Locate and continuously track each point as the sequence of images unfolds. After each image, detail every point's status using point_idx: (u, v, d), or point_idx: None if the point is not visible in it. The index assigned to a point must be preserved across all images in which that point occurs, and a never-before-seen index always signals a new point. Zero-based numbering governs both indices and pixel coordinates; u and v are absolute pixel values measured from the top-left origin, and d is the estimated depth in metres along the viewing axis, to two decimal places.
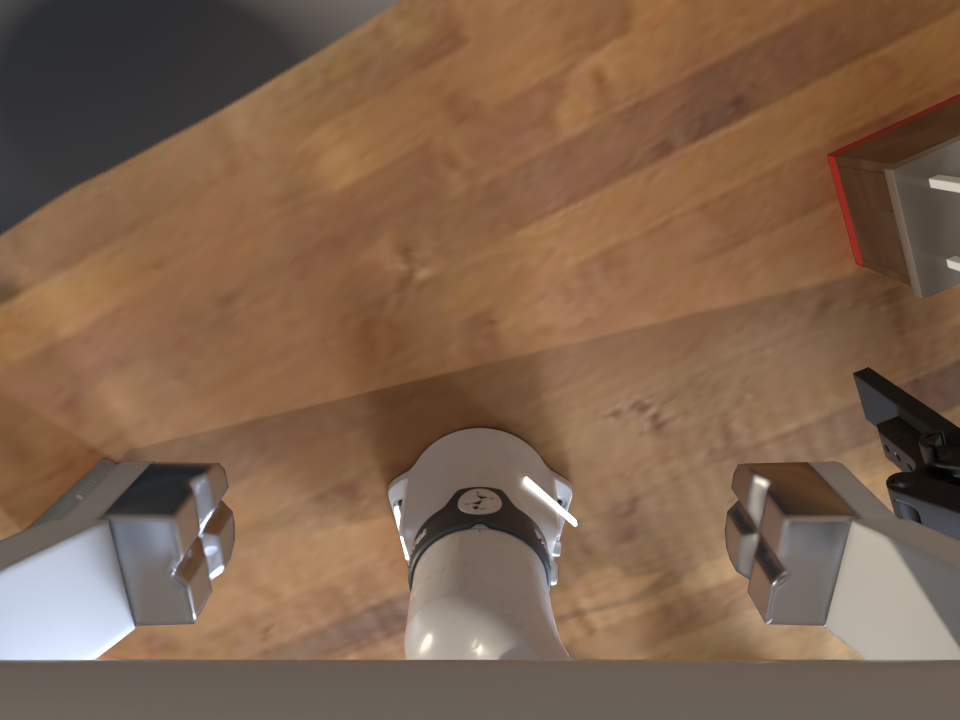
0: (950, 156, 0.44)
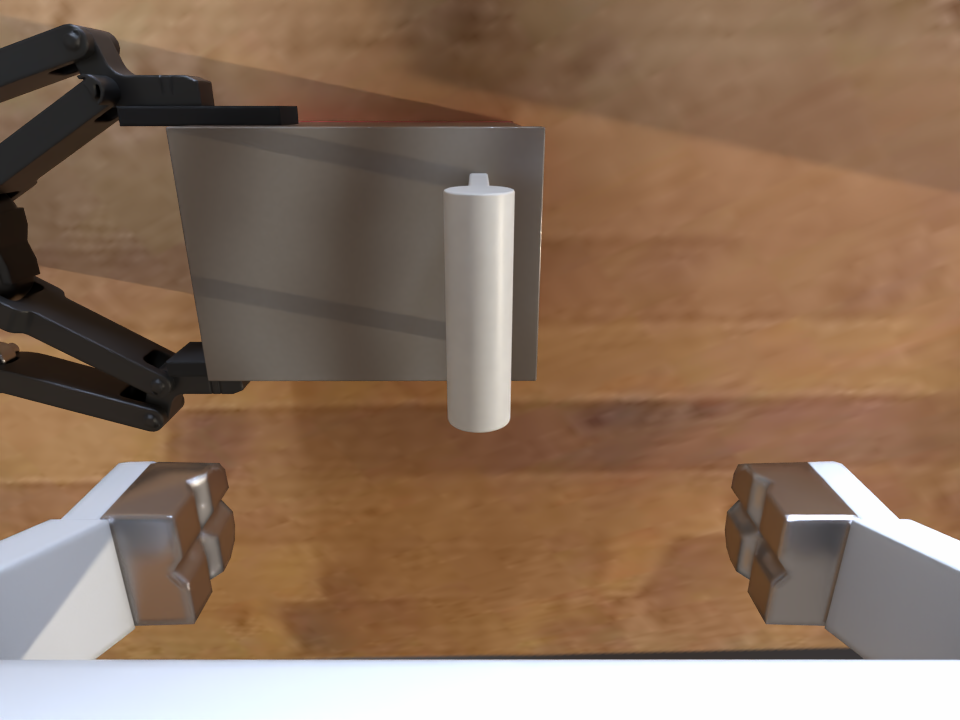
0: None
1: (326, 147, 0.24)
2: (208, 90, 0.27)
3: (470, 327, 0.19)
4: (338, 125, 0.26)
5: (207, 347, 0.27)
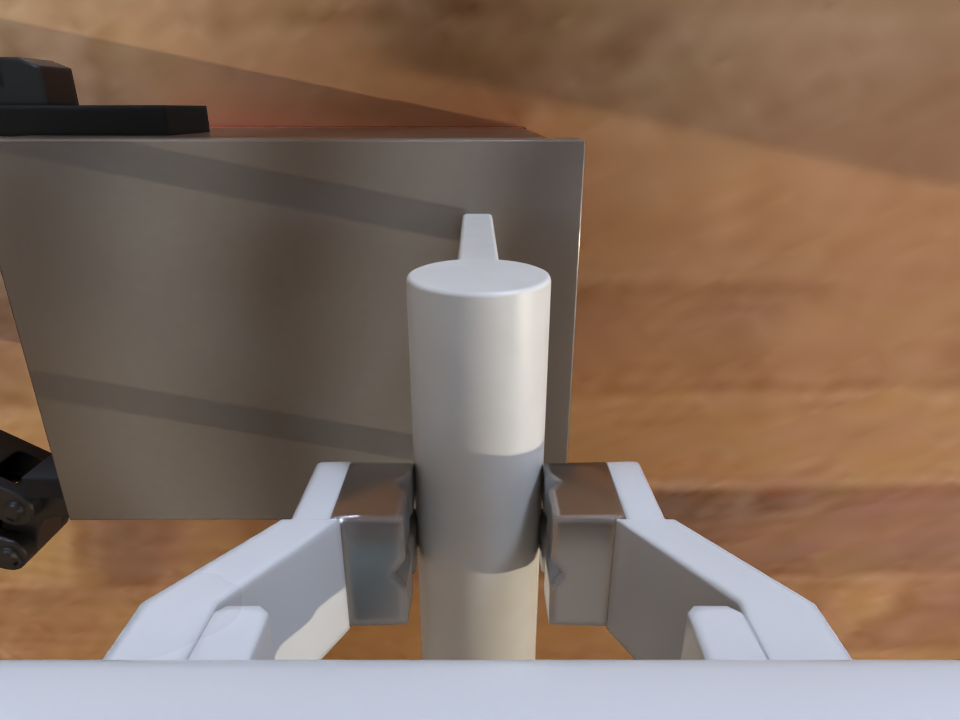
0: None
1: (230, 172, 0.15)
2: (64, 81, 0.18)
3: (462, 542, 0.10)
4: (258, 135, 0.17)
5: (63, 473, 0.18)
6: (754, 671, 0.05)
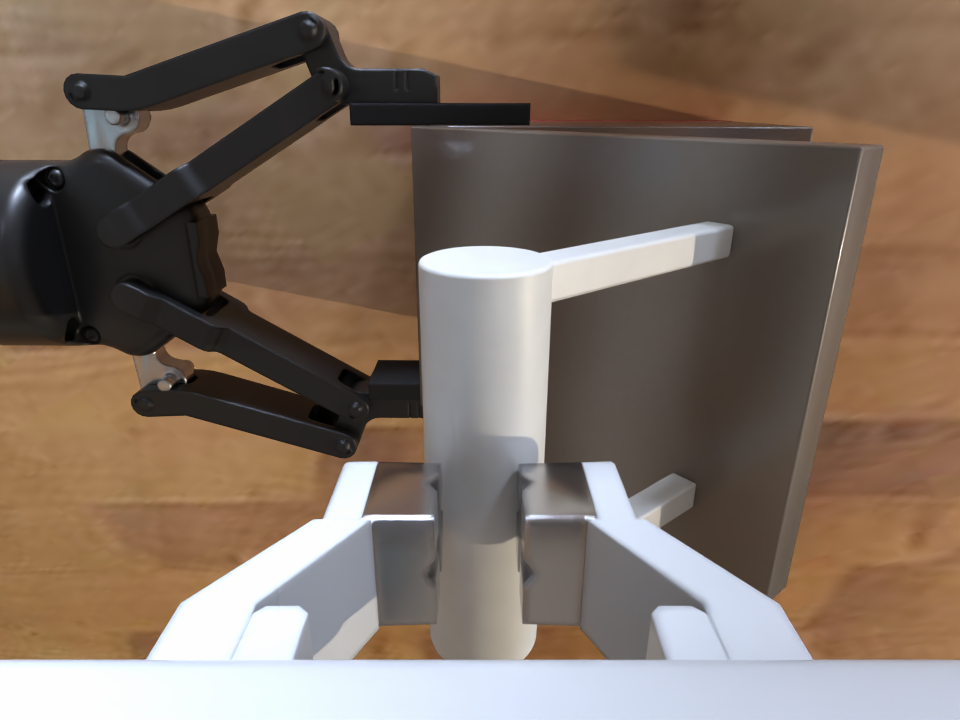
0: None
1: (534, 160, 0.17)
2: (439, 85, 0.24)
3: None
4: (594, 125, 0.23)
5: (421, 370, 0.24)
6: (754, 671, 0.05)
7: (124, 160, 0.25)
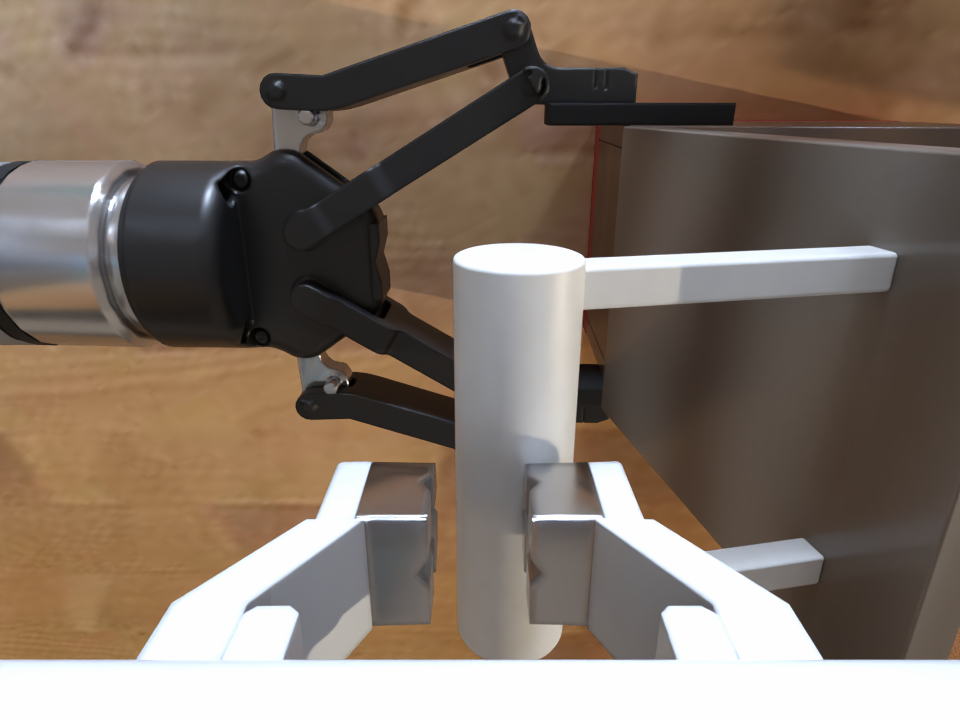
0: None
1: (716, 164, 0.16)
2: None
3: None
4: (801, 125, 0.23)
5: (605, 373, 0.24)
6: (754, 671, 0.05)
7: (309, 160, 0.24)
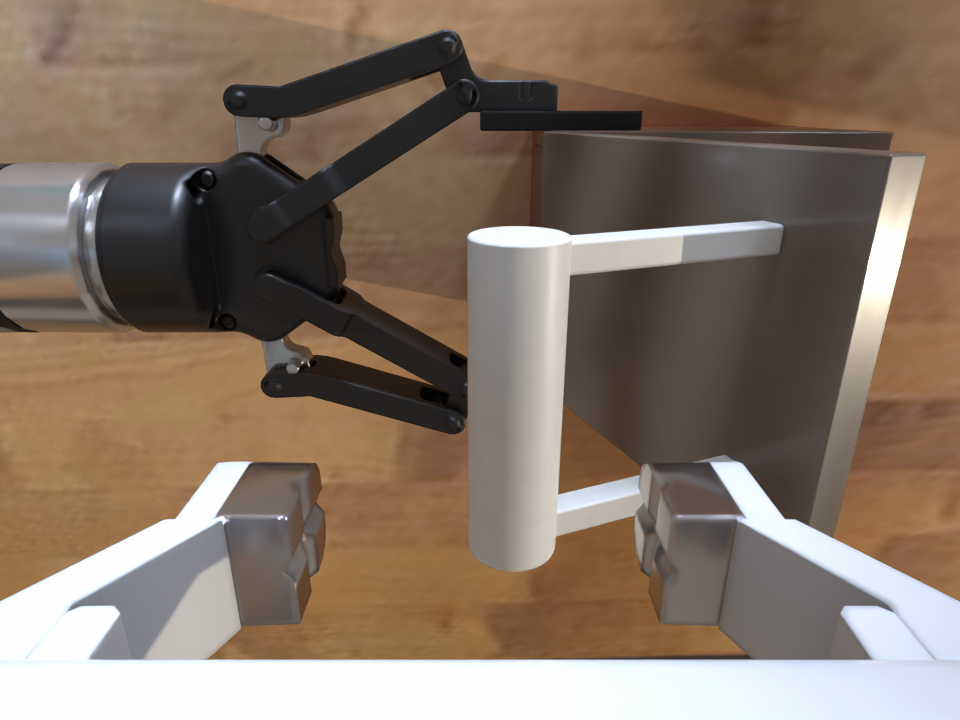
0: None
1: (633, 162, 0.19)
2: None
3: (468, 414, 0.14)
4: (698, 130, 0.26)
5: None
6: (754, 671, 0.05)
7: (269, 162, 0.27)
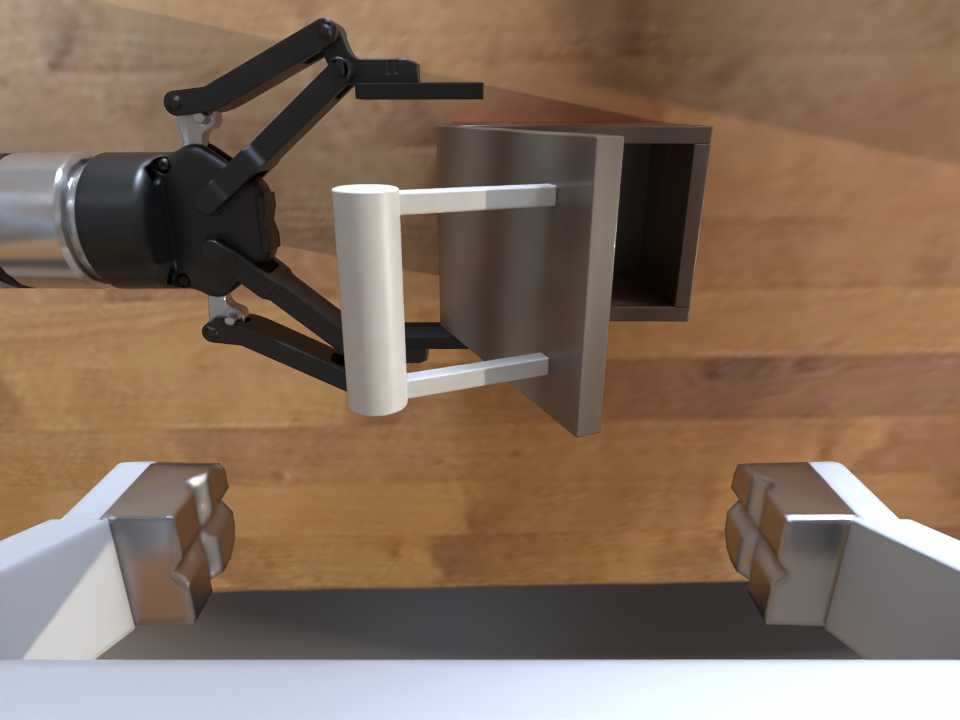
0: (527, 379, 0.26)
1: (485, 147, 0.27)
2: (419, 71, 0.34)
3: None
4: None
5: (440, 298, 0.34)
6: (754, 671, 0.05)
7: (212, 151, 0.34)
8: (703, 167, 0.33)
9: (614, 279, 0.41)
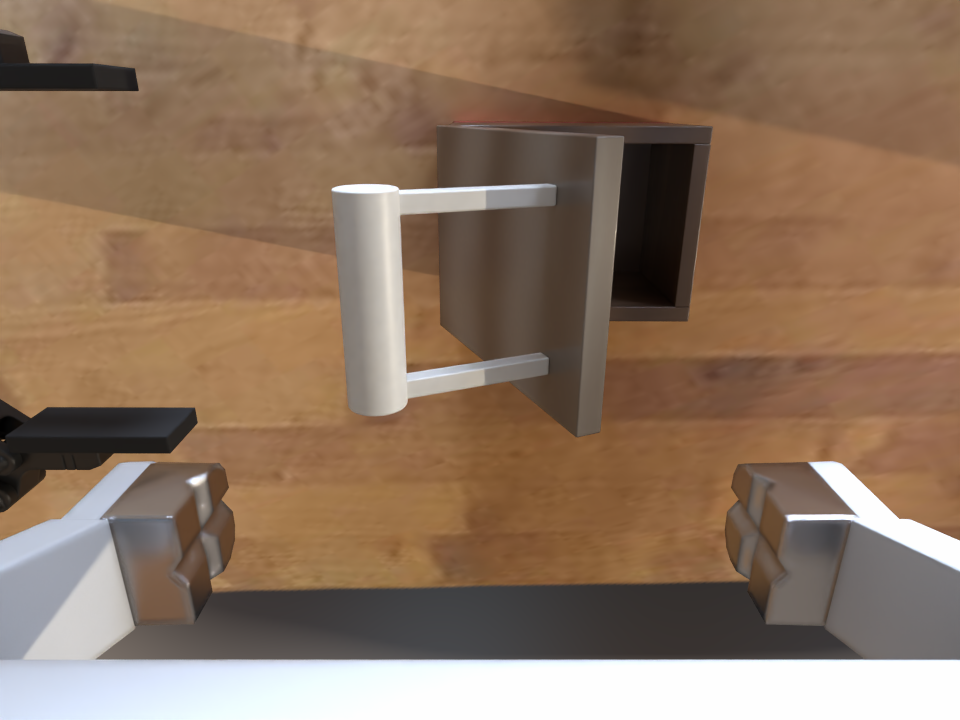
0: (527, 379, 0.26)
1: (485, 147, 0.27)
2: (17, 46, 0.22)
3: None
4: None
5: (440, 298, 0.34)
6: (754, 671, 0.05)
7: None
8: (703, 167, 0.33)
9: (614, 279, 0.41)
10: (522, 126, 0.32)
